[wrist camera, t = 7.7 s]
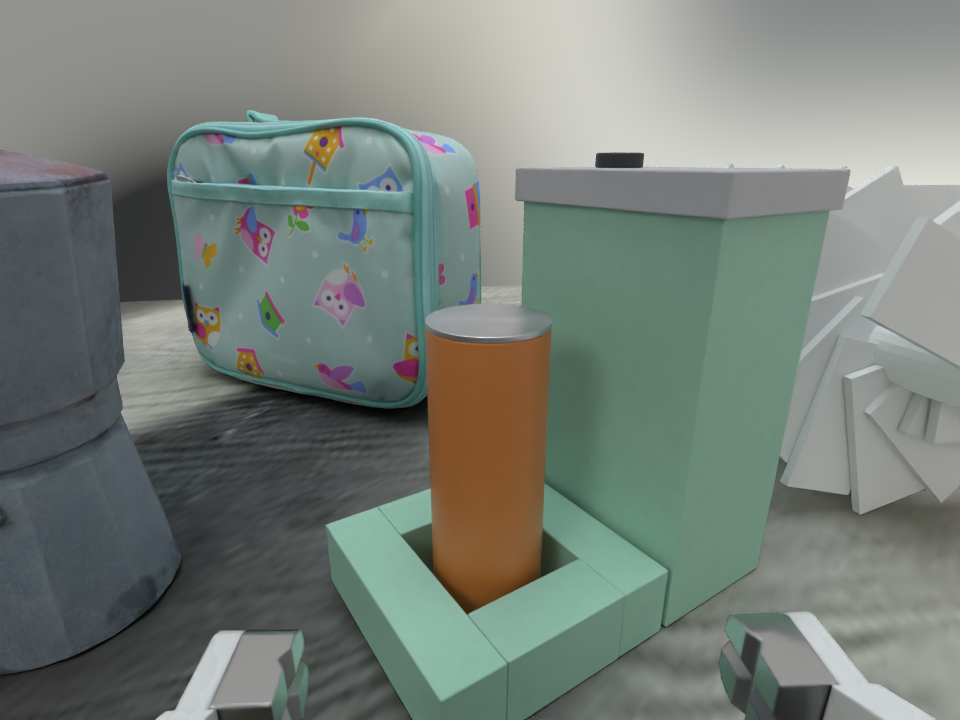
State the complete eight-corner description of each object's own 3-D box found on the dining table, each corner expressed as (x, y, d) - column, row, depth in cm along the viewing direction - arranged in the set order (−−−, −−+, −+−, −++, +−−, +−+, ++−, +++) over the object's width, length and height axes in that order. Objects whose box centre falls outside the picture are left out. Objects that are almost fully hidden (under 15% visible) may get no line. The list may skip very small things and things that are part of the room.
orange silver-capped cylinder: (470, 665, 21) (468, 346, 17) (416, 594, 24) (403, 313, 20) (561, 616, 23) (578, 323, 19) (499, 556, 26) (502, 298, 22)
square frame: (443, 773, 17) (440, 701, 16) (331, 580, 25) (325, 524, 24) (660, 631, 22) (669, 569, 21) (511, 508, 30) (512, 459, 29)
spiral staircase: (718, 412, 51) (1018, 596, 28) (554, 342, 46) (752, 496, 23) (822, 225, 48) (1263, 256, 24) (658, 128, 43) (1016, 48, 19)
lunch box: (170, 372, 49) (118, 108, 42) (262, 341, 58) (231, 117, 51) (424, 437, 38) (412, 88, 31) (492, 386, 46) (494, 104, 39)
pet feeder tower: (667, 636, 22) (737, 148, 16) (508, 505, 30) (515, 153, 24) (767, 568, 26) (855, 151, 20) (601, 469, 34) (627, 154, 28)
